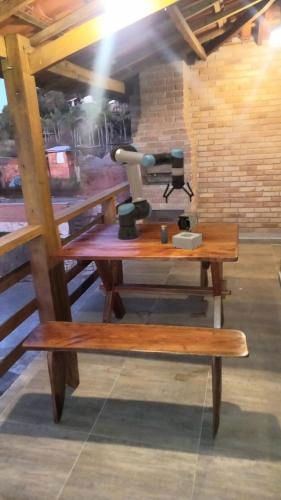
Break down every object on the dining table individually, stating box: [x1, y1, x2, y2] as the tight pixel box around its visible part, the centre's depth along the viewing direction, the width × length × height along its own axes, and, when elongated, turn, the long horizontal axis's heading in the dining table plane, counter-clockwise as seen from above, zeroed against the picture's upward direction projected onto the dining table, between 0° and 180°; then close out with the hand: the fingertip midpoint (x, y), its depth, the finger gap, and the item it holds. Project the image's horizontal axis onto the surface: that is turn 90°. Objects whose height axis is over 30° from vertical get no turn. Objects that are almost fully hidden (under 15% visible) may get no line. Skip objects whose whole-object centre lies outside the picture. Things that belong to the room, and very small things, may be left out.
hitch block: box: [171, 231, 203, 251], centre depth 245 cm, size 14×13×7 cm
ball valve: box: [177, 211, 199, 233], centre depth 263 cm, size 18×8×18 cm, turn 148°
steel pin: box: [160, 224, 169, 245], centre depth 253 cm, size 4×4×12 cm
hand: (178, 207), depth 249 cm, fingers open, 13 cm apart
